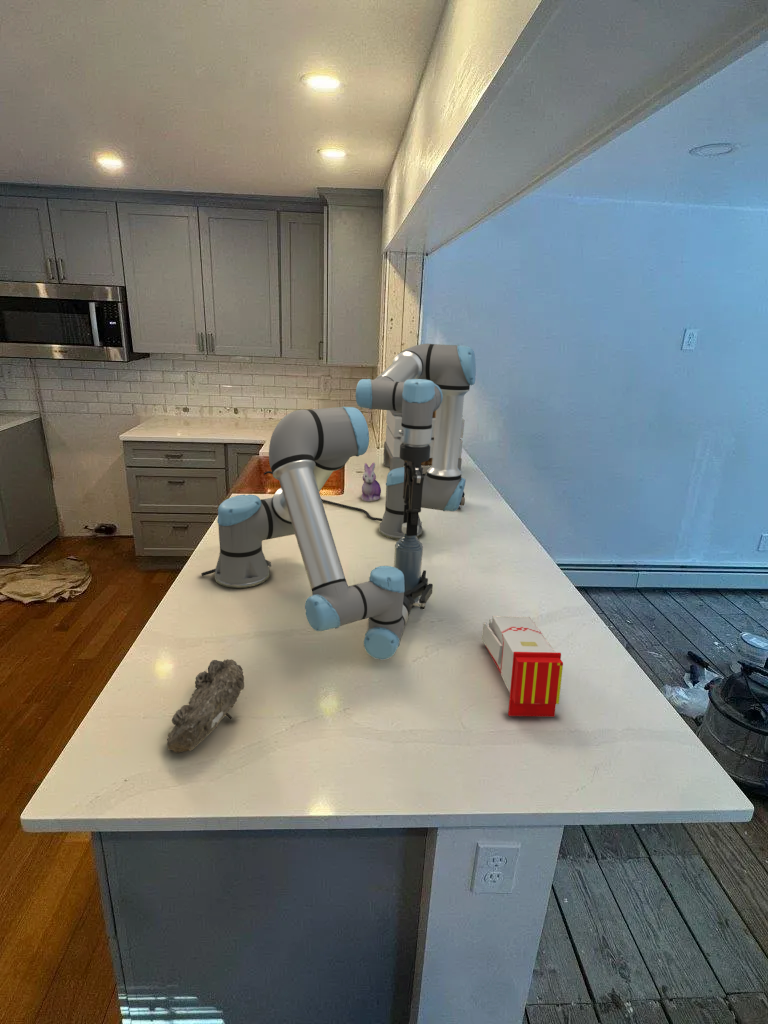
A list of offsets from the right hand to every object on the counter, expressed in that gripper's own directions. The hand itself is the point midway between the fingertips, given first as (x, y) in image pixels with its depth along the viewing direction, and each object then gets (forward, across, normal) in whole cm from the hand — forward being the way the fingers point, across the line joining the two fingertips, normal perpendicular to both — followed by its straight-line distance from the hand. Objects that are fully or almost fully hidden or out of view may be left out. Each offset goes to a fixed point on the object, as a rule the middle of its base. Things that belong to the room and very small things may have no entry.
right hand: (409, 531), depth 148 cm
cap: (-1, 0, 0) cm, 1 cm away
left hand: (+14, -5, +2) cm, 15 cm away
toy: (+20, +35, +18) cm, 44 cm away
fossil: (+20, +43, -45) cm, 66 cm away
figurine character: (+20, -77, +34) cm, 87 cm away
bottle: (+20, 0, 0) cm, 20 cm away
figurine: (+20, -87, +1) cm, 89 cm away
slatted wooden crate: (+20, -125, +29) cm, 130 cm away
